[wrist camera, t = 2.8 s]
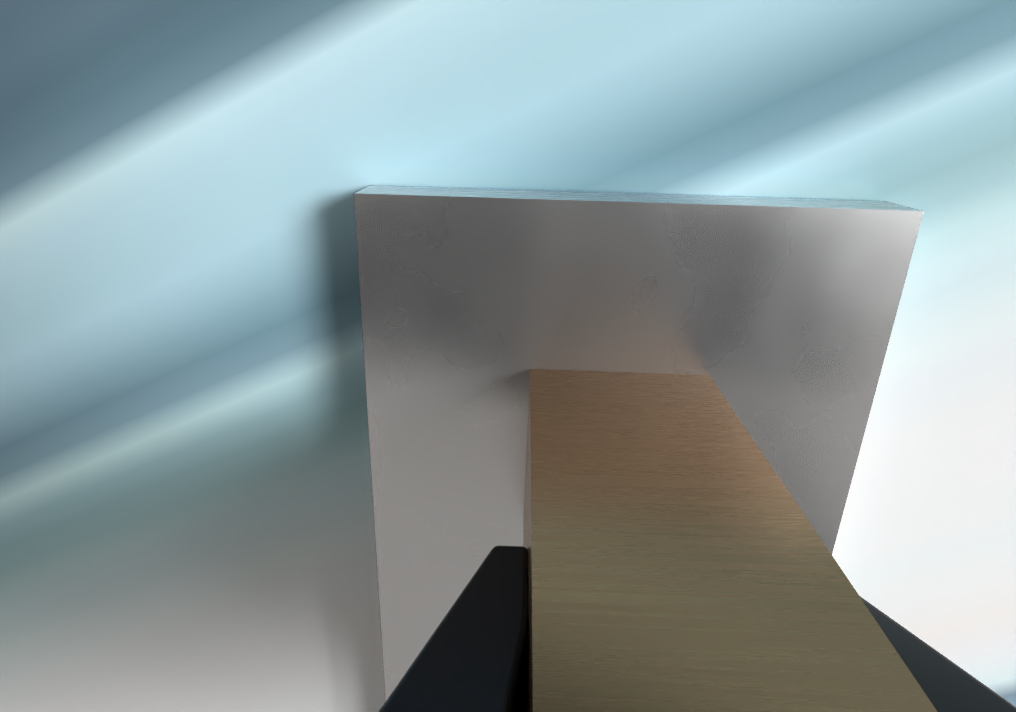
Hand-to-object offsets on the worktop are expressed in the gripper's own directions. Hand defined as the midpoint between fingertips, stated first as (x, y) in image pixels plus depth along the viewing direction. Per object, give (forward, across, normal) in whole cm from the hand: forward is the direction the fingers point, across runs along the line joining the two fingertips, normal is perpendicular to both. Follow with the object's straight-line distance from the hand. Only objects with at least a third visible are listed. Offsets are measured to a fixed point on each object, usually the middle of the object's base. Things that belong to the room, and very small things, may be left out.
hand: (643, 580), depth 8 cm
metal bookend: (+4, 0, +4) cm, 6 cm away
